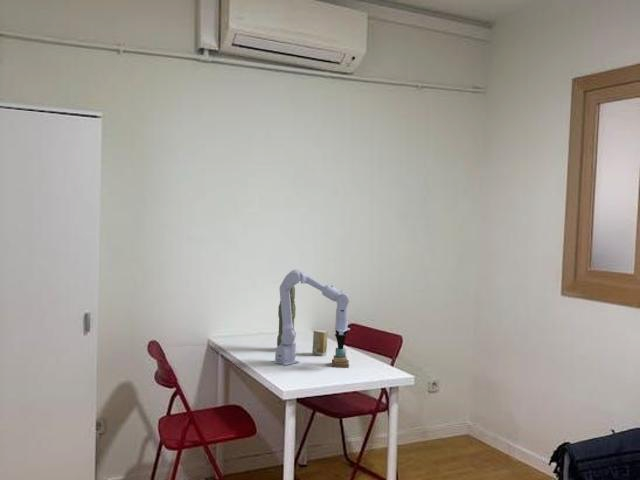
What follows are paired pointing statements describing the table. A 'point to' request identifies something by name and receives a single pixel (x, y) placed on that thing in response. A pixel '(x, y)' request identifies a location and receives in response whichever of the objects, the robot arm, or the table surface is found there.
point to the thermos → (293, 308)
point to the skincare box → (320, 342)
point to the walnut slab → (340, 364)
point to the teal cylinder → (340, 353)
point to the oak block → (340, 360)
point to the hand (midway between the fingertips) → (340, 347)
